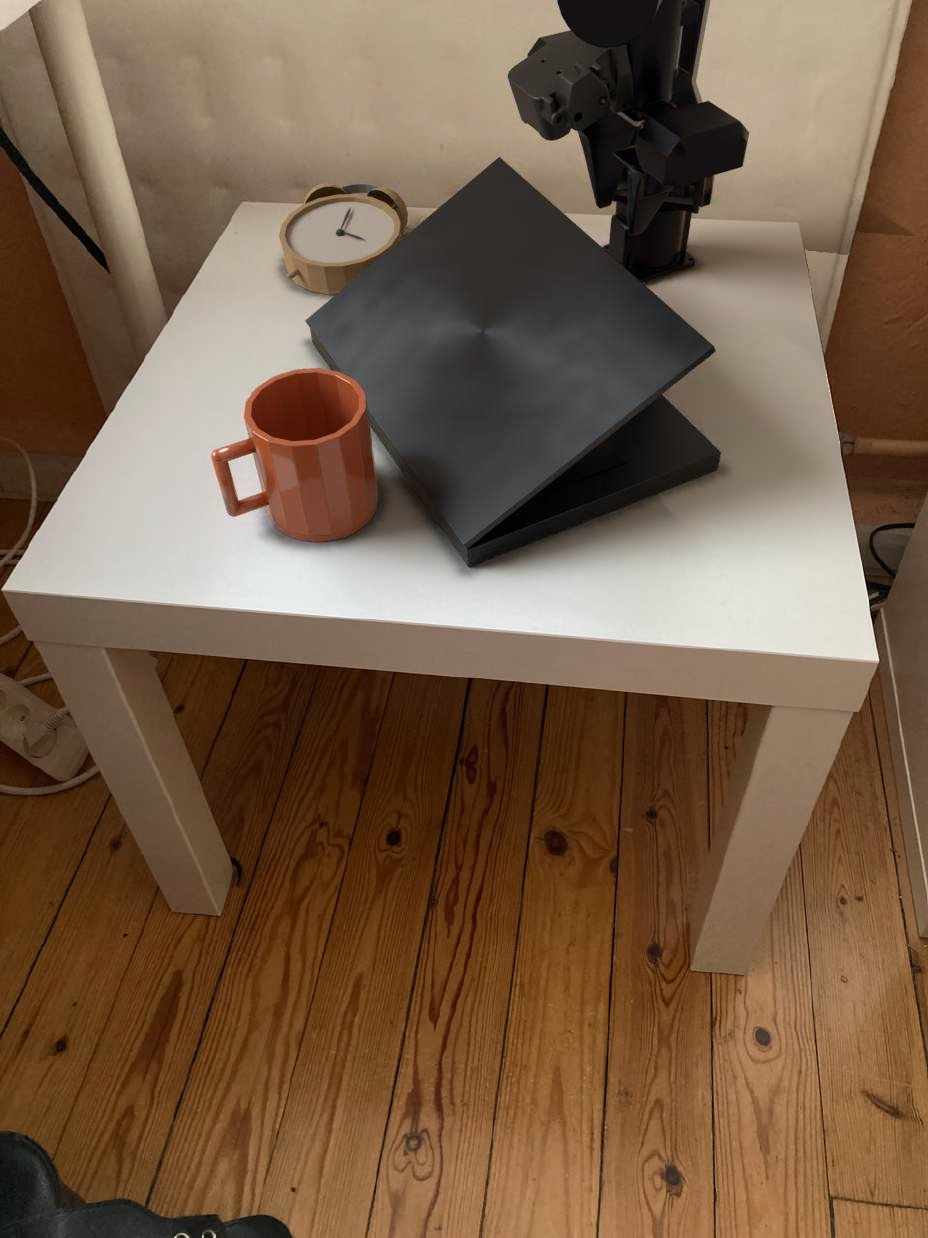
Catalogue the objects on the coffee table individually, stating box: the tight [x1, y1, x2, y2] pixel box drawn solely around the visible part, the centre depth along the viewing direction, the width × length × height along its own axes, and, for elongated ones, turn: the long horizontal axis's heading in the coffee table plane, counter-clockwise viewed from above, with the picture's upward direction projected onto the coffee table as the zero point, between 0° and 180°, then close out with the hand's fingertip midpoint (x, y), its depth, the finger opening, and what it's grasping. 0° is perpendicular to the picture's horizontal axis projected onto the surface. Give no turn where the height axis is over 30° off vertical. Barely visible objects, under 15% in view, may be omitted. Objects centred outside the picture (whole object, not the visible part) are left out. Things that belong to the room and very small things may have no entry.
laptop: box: [309, 328, 722, 568], centre depth 82 cm, size 21×30×2 cm
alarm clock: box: [278, 182, 409, 296], centre depth 96 cm, size 11×5×15 cm
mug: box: [210, 367, 380, 543], centre depth 72 cm, size 11×8×9 cm
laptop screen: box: [304, 156, 716, 549], centre depth 77 cm, size 21×30×1 cm
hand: (619, 219), depth 75 cm, fingers open, 4 cm apart
